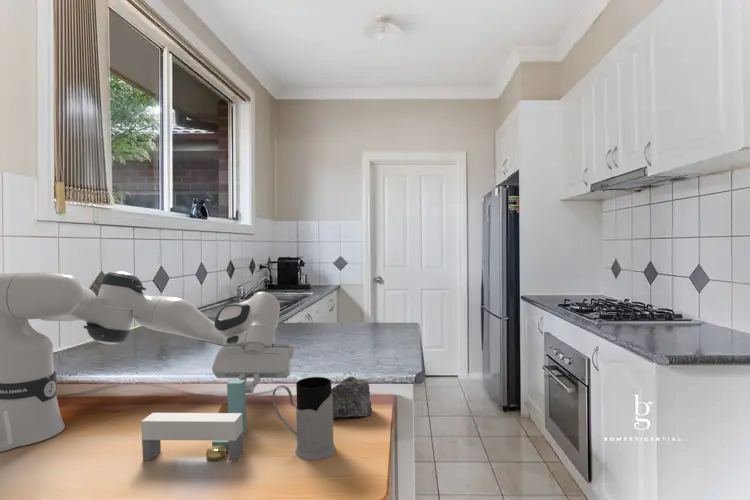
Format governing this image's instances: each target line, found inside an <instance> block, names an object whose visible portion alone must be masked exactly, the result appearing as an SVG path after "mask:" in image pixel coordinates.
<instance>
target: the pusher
mask: <svg viewBox="0 0 750 500" xmlns="http://www.w3.org/2000/svg"><path fill="white" fill-rule="evenodd" d="M245 384H246V381H245V380H240V379H230V380H229V381H228V382H227V383H226V389H227V391H226V396H227V403H228V413H242V423H243V435H245V432H246V431H247V429H248V427H247V403H246V402H247V400H246V397H247V396H246V394H247V393H245ZM211 441H212V442H211V447H213V446H217V445H222V446H225V447H226V452H229V445H228V441H221V440H211Z"/></svg>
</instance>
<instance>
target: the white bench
mask: <svg viewBox="0 0 750 500" xmlns="http://www.w3.org/2000/svg"><path fill="white" fill-rule="evenodd" d="M140 423H141V446H142V461H143V460H144V462H150V461H152V460H153V459H154V458H155V457H156V456H157V455H158V454H159V453H160V452H161V451H162V445H161V443H162V442H161V441H213V440H221V441H228V445H229V451H228V462H229V461H236V462H237V461H238V460H239V459H238V458H240V457H241V456H242V455H243V453H244V434H243V423H242V413H218V412H151V414H149V415H148V416H146V417H145V418H143V419H142V420H141V422H140ZM160 450H161V451H160ZM159 451H160V452H159ZM158 452H159V453H158ZM157 453H158V454H157ZM156 454H157V455H156ZM155 455H156V456H155ZM240 455H241V456H240ZM154 456H155V457H154ZM153 457H154V458H153ZM152 458H153V459H152ZM237 459H238V460H237ZM147 460H148V461H147Z"/></svg>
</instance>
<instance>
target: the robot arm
mask: <svg viewBox="0 0 750 500" xmlns="http://www.w3.org/2000/svg"><path fill="white" fill-rule="evenodd" d="M100 284H101V285H100V288H99V290H98V294H97V295H96V293H95V292H94V291H93V290H92V289H91V288H89V287H87V286H86V285H83V284H81V283H80V281H79V279H78V278H77V277H75V276H74V275H72V274H66V273H59V272H52V271H51V272H50V271H47V272H45V271H43V272H41V271H40V272H8V273H0V453H1V452H5V451H8V450H9V451H10V450H11V449H15V448H19V447H23V446H28V445H32V444H35V443H39V442H42V441H45V440H48V439H50V438H52V437H54V436H56V435H58V434H60V433H61V432H63V430H65V427H66V425H65V423H64V420H63V417H62V413H61V411H60V407H59V401H58V398H57V397H58V396H57V389H58V377H57V371H56V370H55V364H54V345H53V343H52V340H51V339H50V338H49V337H48V336H47V335H45V334H43V333H41V332H38V331H37V330H36V329H34V328H33V327H32V326H31V324H30V321H29V320H42V321H45V322H46V321H49V322H50V321H51V322H52V321H53V322H73V321H74V322H75V321H84V322H85V323H86V325H83V329H84V330H85V329H86V330H87V331H86V332H87V333H88V335H89V336H90V338H92V340H94V341H97V342H98V343H101V344H103V345H110V346H111V345H117V344H120V343H123V342H125V341H126V340H127V339H128V337H129V335H130V334H131V327H132V324H133V321H136V323H137V324H138V325H140V326H142V327H143V328H146V329H150V330H153V331H157V332H160V333H161V332H162V333H167V334H172V335H177V336H182V337H185V338H191V339H194V340H198V341H202V342H205V343H209V344H213V345H216V346H220V347H221V348H219V350H218V351H217V353H216V355H215V358H214V361H213V364H212V367H211V370H212V373H213V374H214V376H215V377H216V379H217V378H218V379H238V380H245V382H247V379H253V380H252V381H251V382H250V383H248V384H247V383H245V394H254V391H255V388H256V387H257V385H258V384H259V383H260V382H261V379H287V378H288V377H289V376H290V375H291V371H292V370H291V369H292V363H291V362H292V361H291V360H292V358H293V356H294V354H295V353H294V352H295V349H294V347H293V346H291V345H290V344H288V343H287V344H286V343H283V344H280V343H275V340H276V330H277V327H278V326H279V321H280V320H279V319H280V312H281V304H280V301H279V300H278V298H277V297H276V296H274V295H273V294H272V293H269V292H266V291H258V292H256V293H254V294H253V295H252V296H251V297H250V298H249V299H245V300H244V301H241V302H238V303H229V304H226V305H225V306H223V307H222V308H220V310H219V311H218V312H217V314H216V316H215V318H214V321H213V320H212V319H210V317H209V318H208V317H207V316H206V315H205V314H204V313H203V312H202V311H201V310H199V309H198V308H197V307H196V306H195V305H194V304H193V303H192V302H190V301H189V300H187V299H184V298H180V297H177V296H168V295H146V294H144V292H143V291H147V288H146V287H144V286H143V283H142V281H141V280H140V279H139V278H138V277H137V276H135V275H133V274H132V273H130V272H128V271H123V270H117V271H111V272H107V273H105V275H104V276H103V277H102V280H101V282H100Z"/></svg>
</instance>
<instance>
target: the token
mask: <svg viewBox="0 0 750 500" xmlns="http://www.w3.org/2000/svg"><path fill="white" fill-rule="evenodd" d="M205 452H206V453H205V454H206V455H205V456H206V457H205V458H206V461H208V462H212V463H213V462H215V461H216V462H220V461H222V459H223V460H225V459H226V457H227V451H226V447H225V446H222V445H217V446H213V447H212V446H210V447H208V448H207V449H206V451H205ZM219 460H220V461H219Z"/></svg>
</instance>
